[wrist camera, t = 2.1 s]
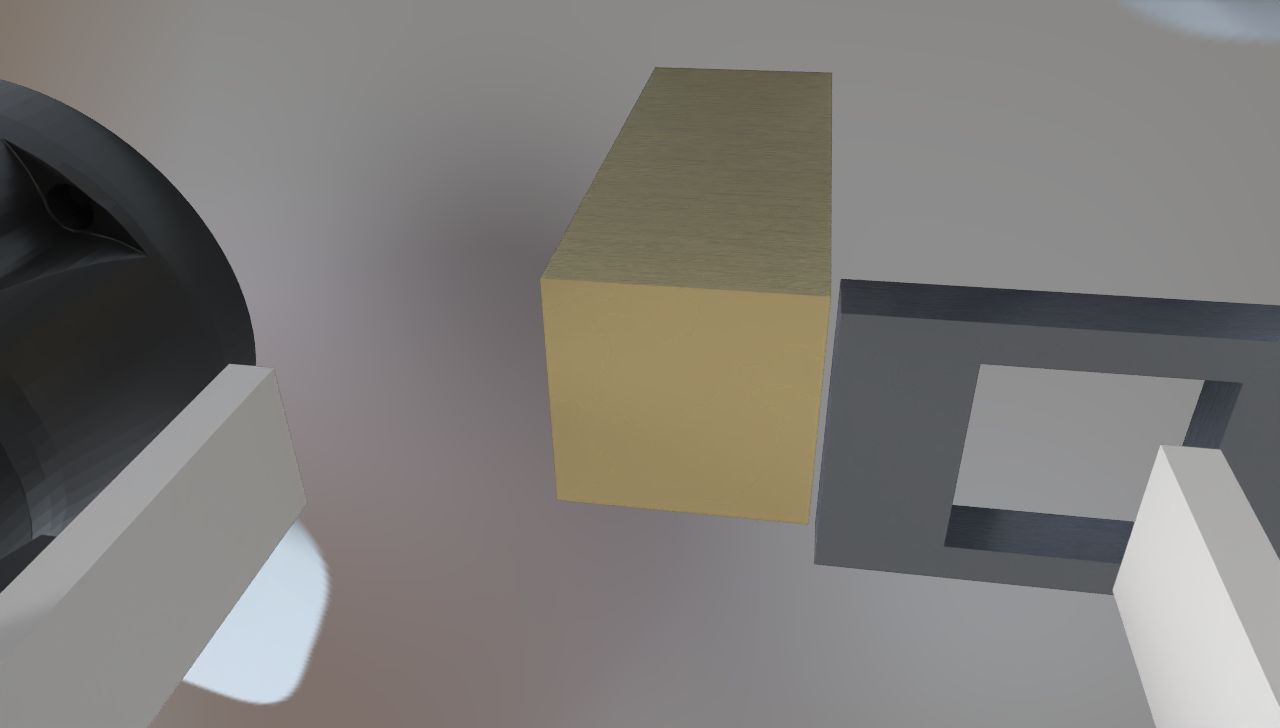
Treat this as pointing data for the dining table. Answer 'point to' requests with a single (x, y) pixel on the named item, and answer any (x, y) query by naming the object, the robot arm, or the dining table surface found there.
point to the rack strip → (941, 405)
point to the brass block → (697, 301)
